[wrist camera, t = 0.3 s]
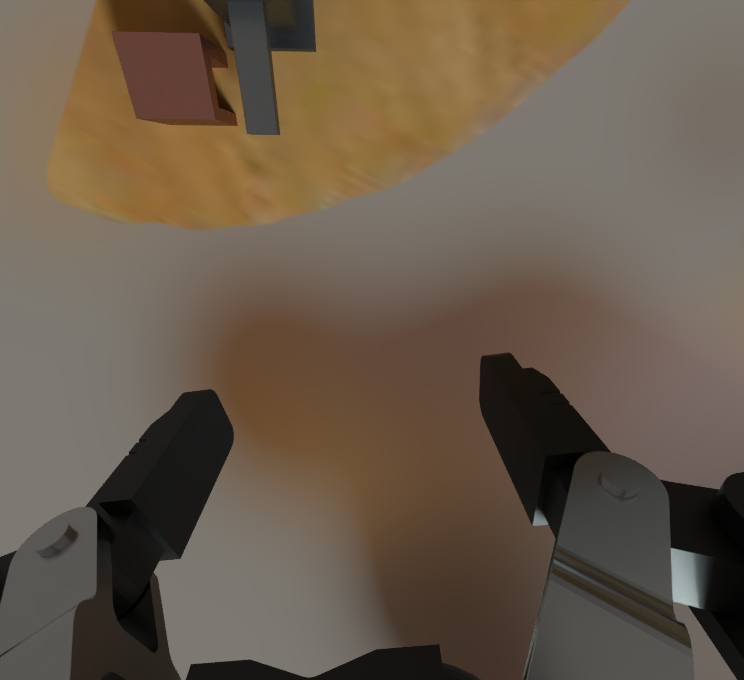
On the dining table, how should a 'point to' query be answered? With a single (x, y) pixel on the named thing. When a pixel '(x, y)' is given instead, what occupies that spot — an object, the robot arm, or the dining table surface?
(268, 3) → the coupler bracket
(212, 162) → the dining table surface
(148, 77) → the brown block
